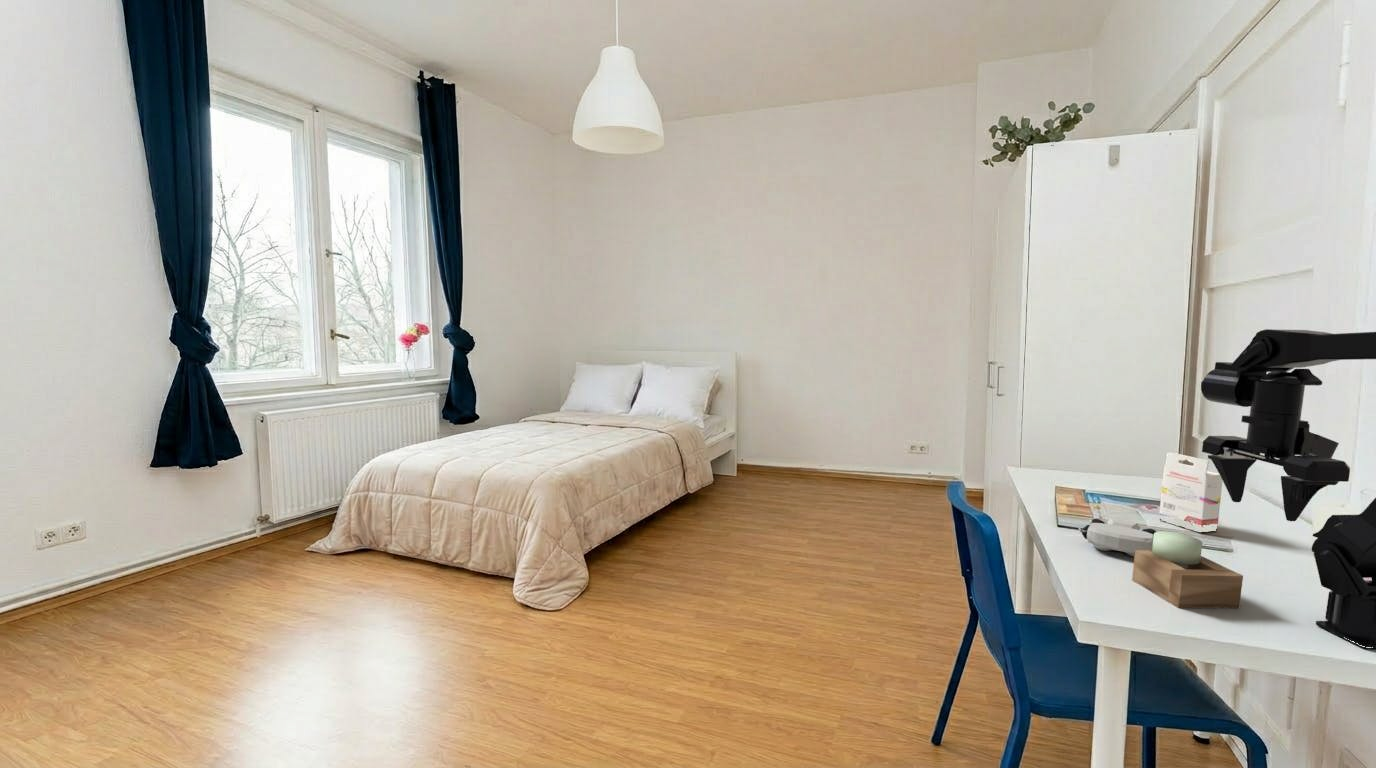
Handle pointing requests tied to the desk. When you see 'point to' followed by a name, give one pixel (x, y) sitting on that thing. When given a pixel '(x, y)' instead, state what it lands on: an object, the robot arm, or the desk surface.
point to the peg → (1177, 548)
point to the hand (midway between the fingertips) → (1262, 511)
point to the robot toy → (1118, 536)
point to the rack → (1188, 582)
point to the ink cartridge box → (1190, 490)
